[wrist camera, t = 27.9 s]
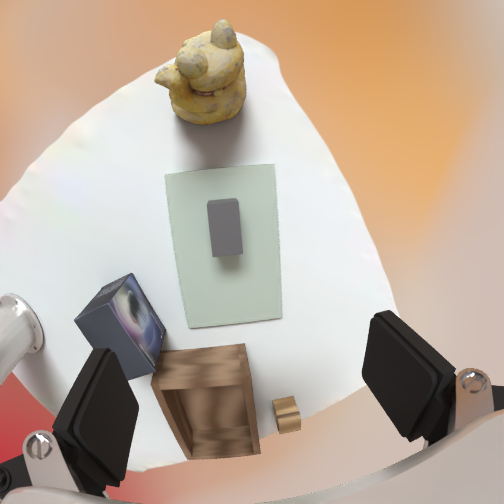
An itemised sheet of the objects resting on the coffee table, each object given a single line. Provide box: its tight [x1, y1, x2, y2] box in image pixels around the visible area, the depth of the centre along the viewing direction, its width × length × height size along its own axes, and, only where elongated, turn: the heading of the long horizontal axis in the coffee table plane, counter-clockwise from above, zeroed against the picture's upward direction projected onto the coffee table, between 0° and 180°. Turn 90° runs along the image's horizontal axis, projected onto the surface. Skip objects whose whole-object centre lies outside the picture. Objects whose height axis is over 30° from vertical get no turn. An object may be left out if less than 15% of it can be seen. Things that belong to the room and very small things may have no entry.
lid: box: [165, 164, 282, 328], centre depth 34 cm, size 14×22×6 cm, turn 4°
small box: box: [74, 273, 166, 381], centre depth 32 cm, size 11×6×10 cm, turn 23°
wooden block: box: [273, 396, 301, 434], centre depth 44 cm, size 4×4×6 cm
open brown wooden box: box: [151, 343, 261, 460], centre depth 40 cm, size 14×22×8 cm, turn 4°
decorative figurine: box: [154, 19, 246, 125], centre depth 24 cm, size 10×8×15 cm
